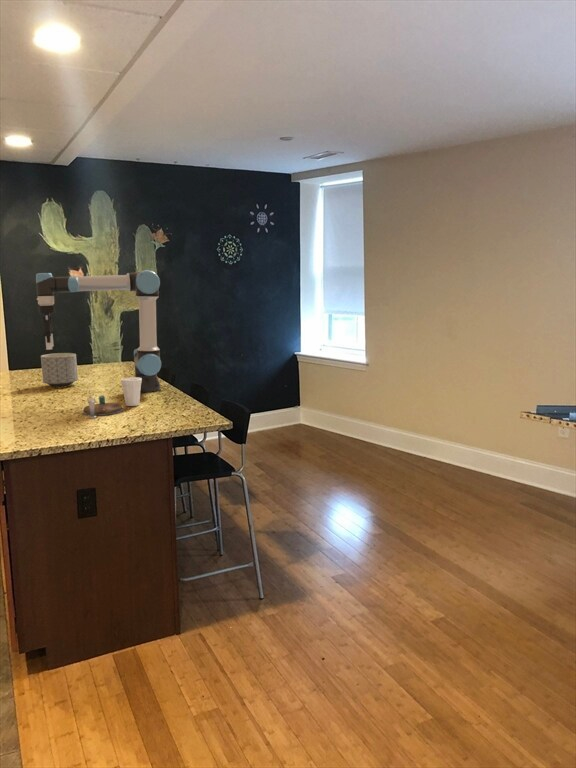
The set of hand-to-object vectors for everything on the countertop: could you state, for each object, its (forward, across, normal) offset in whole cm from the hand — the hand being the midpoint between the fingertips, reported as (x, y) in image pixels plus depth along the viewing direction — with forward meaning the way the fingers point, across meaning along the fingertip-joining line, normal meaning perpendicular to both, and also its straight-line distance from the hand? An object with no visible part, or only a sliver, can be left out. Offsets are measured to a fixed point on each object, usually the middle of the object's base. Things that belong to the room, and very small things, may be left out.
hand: (50, 348), depth 302 cm
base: (+27, +34, +22) cm, 49 cm away
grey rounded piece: (+27, +45, +18) cm, 56 cm away
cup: (+28, +25, +36) cm, 52 cm away
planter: (+28, -48, +2) cm, 55 cm away
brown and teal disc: (+26, +32, +22) cm, 47 cm away
